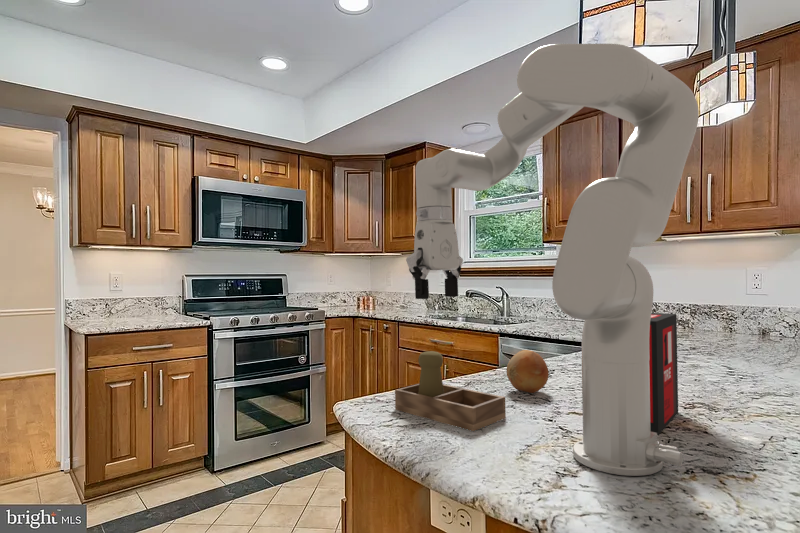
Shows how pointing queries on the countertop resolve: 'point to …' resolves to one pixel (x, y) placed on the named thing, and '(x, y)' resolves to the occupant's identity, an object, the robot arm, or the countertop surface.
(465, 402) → the wooden divided tray
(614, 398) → the robot arm
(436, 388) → the cork
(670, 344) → the cleaning product box
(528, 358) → the onion
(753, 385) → the countertop surface
